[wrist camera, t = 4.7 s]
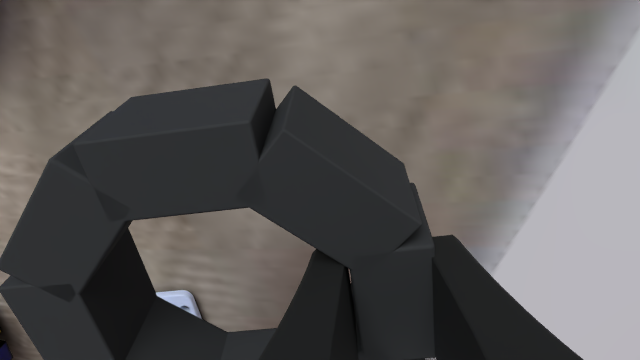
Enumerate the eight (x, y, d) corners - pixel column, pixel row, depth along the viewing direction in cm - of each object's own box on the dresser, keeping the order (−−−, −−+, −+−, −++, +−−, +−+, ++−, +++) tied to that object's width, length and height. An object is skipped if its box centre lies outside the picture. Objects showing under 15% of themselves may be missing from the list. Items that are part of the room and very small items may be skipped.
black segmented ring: (423, 354, 13) (440, 437, 11) (140, 376, 14) (105, 456, 12) (408, 58, 9) (431, 96, 7) (6, 113, 10) (-85, 163, 7)
